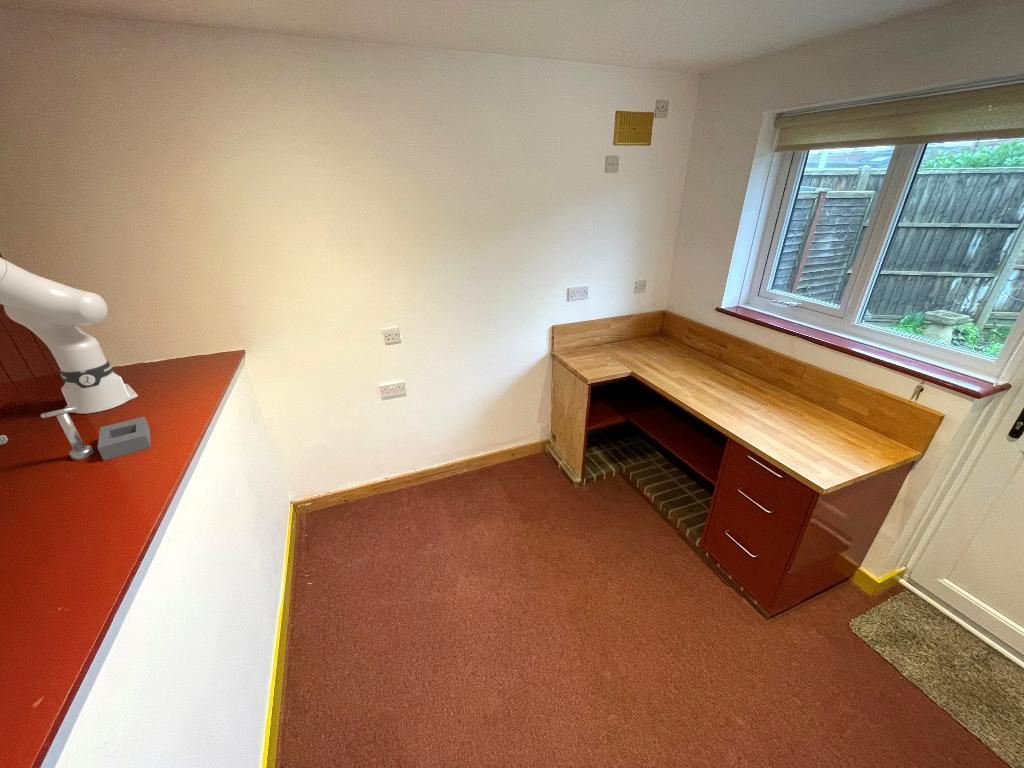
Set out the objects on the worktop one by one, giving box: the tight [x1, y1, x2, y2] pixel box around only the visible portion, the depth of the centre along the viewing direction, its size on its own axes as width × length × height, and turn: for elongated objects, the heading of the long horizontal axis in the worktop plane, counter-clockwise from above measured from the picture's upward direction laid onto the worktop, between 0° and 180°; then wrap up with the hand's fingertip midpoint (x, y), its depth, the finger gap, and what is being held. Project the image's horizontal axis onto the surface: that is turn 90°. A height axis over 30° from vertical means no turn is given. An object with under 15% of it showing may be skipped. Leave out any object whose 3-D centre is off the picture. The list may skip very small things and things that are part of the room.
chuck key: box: [40, 406, 95, 461], centre depth 111 cm, size 4×7×14 cm
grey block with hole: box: [97, 416, 152, 461], centre depth 119 cm, size 14×10×4 cm
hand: (2, 446), depth 104 cm, fingers open, 8 cm apart
